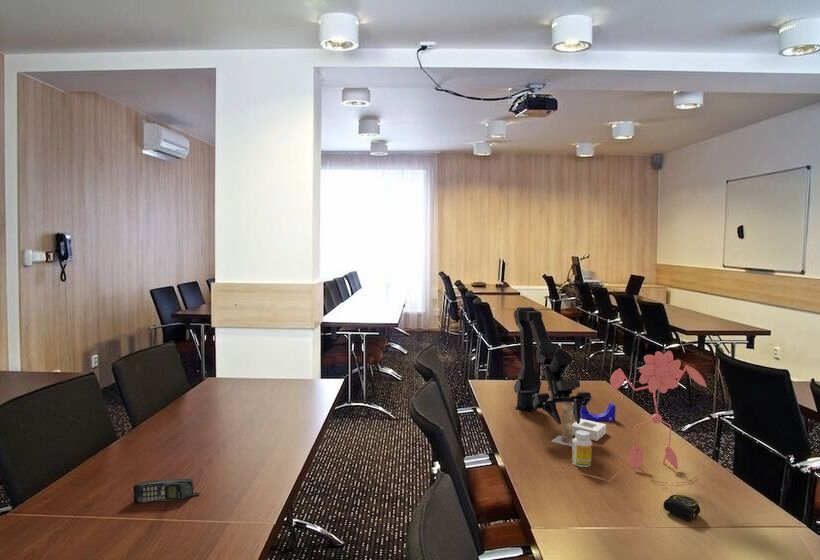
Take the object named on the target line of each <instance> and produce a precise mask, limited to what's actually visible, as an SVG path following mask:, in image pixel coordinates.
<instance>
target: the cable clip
mask: <svg viewBox="0 0 820 560" xmlns="http://www.w3.org/2000/svg"><path fill="white" fill-rule="evenodd" d="M616 407H617V406H616V404H615V403H613V402H608V406H607V408H606V410H605V411H604V412H602V413H598V414H594V413H592V412H590V411H588V409H587V406H585V407H581V410H580V419H585V420H589V421H594V422H598V423H600V422H616Z"/></svg>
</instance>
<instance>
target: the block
mask: <svg viewBox="0 0 820 560" xmlns="http://www.w3.org/2000/svg"><path fill="white" fill-rule="evenodd" d="M578 430H584V431H588V432H589V433H590V438H589V439H590V440H591V441H596V442H597V441H598V440H600V439H601V438H602V437H603V436H605V435H606V433H607V424H606V423H602V422H594V421H589V420H585V419H580V423H579V424H577V422H576V421H574V422H573V428H572V436H574V437H576V436H575V435H576V431H578Z"/></svg>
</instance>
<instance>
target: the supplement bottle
mask: <svg viewBox="0 0 820 560" xmlns="http://www.w3.org/2000/svg"><path fill="white" fill-rule="evenodd" d="M589 438H590V433H589V432H588V431H584V430H578V431H576V435H575V436H574V438H573V447H572V451H571V463H572V464H573V465H575V466H577V467H581V468H582V467H583V468H587V467H591V465H592V450H593V448H592V447H593V442H592V440H591V439H589Z"/></svg>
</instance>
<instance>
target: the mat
mask: <svg viewBox="0 0 820 560" xmlns="http://www.w3.org/2000/svg"><path fill="white" fill-rule="evenodd" d="M573 439H574V438H573V437H572V442H571V443H565V442H563V441H562V434H561V435H560V434H559V435H557V436H556V437H555V438H554V439H552V440H551V441H550V442H551V443H555V444H560V445H564V446H568V447H573Z"/></svg>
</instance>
